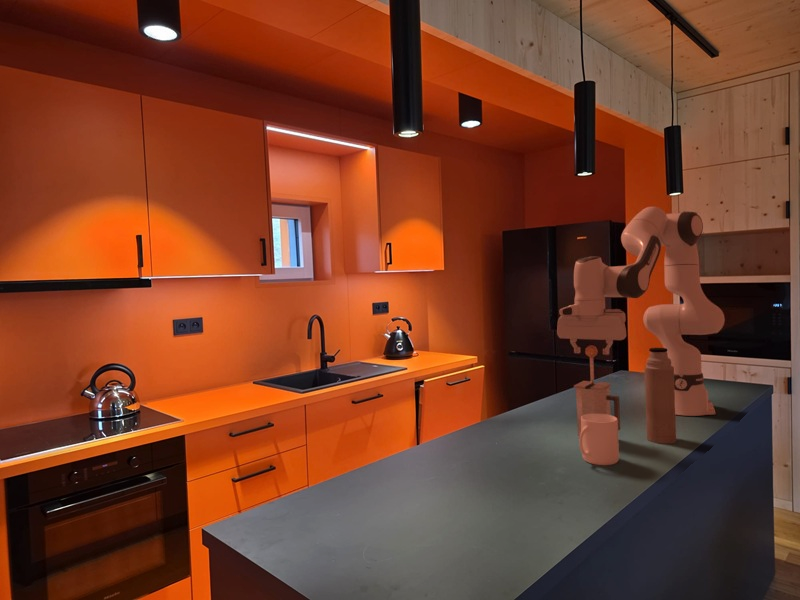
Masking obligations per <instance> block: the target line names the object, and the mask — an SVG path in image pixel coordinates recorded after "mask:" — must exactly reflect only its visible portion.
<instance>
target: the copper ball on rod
mask: <svg viewBox="0 0 800 600" xmlns="http://www.w3.org/2000/svg"><path fill="white" fill-rule="evenodd" d="M584 353H585V355H586V356H587V357H589V369H590V371H589V373H590V375H589V376H590V381H591V387H592V386H594V383H595V373H594V372H595V369H594V364H595V363H594V357H596V356H597V355H598V349H597V347H596V346H595V345H588V346H587V347H586V348H585V351H584Z"/></svg>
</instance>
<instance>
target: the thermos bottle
mask: <svg viewBox="0 0 800 600" xmlns="http://www.w3.org/2000/svg"><path fill="white" fill-rule="evenodd" d="M645 363H646V365H644V388H645V390H644V391H645V392H644V393H645V412H646V413H645V415H646V416H645V418H646V421H645V422H646V439H647V440H648V441H649V442H653V443H657V444H664V445H666V444H673V443H675V442H677V428H676V427H677V426H676V424H677V423H676V421H677V420H676V414H675V388H674V367H673V366H671V363H672V362H671V359H669V358H668V354H667V349H666V348H664V347H650V348H649V357H648V358H647V359H646V362H645Z"/></svg>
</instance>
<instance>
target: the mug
mask: <svg viewBox="0 0 800 600" xmlns="http://www.w3.org/2000/svg"><path fill="white" fill-rule="evenodd" d="M619 448H620V446H619V431H618V419H617V417H615V416H614V415H611V414H610V415H607V414H586V415H583V416H581V434H580V439H579V449H580V452H581V455H582V458H583V460H584V461H586V462H587V463H589V464H592V465H595V466H611V465H616V464H617V463H618V462H619V461H620V460H619V458H620V451H619V450H620V449H619Z"/></svg>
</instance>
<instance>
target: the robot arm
mask: <svg viewBox="0 0 800 600" xmlns="http://www.w3.org/2000/svg"><path fill="white" fill-rule="evenodd" d="M703 229H704V224H703V220H702V218H701V216H700V215H699V214H698V213H697V212H696V211H682V212H674V213H666V212H665V211H664V210H663V208H660V207H657V206H648V207H645V208H643V209H642V210H641V211H639V212H638V213H637V214H636V215H634V216H633V218H632V219H631V220H630V221H629V222H628V223H627V225H626V226H625V228H624V229H623V231H622V233H621V236H620V241H621V244H622V247H623V248H624V250H625V251H626V252H628V253H629V254H631V255H633V256H635V257H637V258H636V260H635V262H634V263H631V264H627V265H617V266H609V265H607V264H605V263H604V262H603V261H602V257H600V256H598V255H595V256H594V255H593V256H592V255H590V256H585V257H581V258H579V259H577V260H576V261H575V264H574V269H573V287H574V291H575V295H574V298H573V299H574V304H570V305H568V306H565V307H562V308H560V309H559V315H560V317H558V319H557V325H556V327H557V329H556V330H557V331H556V334H557V337H558V338H559V339H569V342H570V345H571V346H572V348H573V353H574V354H581V347H580V346H578V345H577V343H576V342H577V341H578V340H598V341H599V340H600V341H601V340H603V341H604V340H605V343H606V347H605V348H602V355H605V356H608V355H610V348H611V346H612V345H613V344H614V341H622V340H625V339H626V338H627V328H626V324H625V323H626V321H627V319H626V313H625V311H623V310H621V309H620V308H615V309H614V308H613V309H612V308H606V298H627V299H639V298H640V297H642V296H643V295H644V294H645V293H646V292H647V290H648V288H649V287H650V286H649V285H650V280H651V276H652V274H653V272H654V269H655V266H656V264H657V261H658V260H659V257H660V254H661V250H662V249H661V248H662V247H665V251H664V262H663V264H664V267H663V269H664V286H665V289H666V290H667V291H669V292H670V293H672V294H675V295H677V296H679V297H681V298H682V300H683V303H676V304H675V303H674V304H673V303H668V304H667V303H666V304H656V305H652V306H649V307H648V308H647V309H646V310H645V311H644V314H643V317H642V318H643V319H642V320H643V325H644V327H645V328H646V329H647V331H649V332H650V333H652V334H653V335H654V336H655V337H656V338H657V339H658V340H659V342H660V343H661V345H662V348H666V349H667V354H668V358H669V359H671V362H672V363H671V366H673V367H674V388H675V416H676V415H677V416H685V417H686V416H689V417H696V416H697V417H698V416H700V417H701V416H708V415H709V416H710V415H711V416H712V415H716V410H715V406H714V405H713V402H711V400H710V399H709V395H708V390H707V387H705V385H704V374H703V372H702V353H701V352H700V350H699V349H698V347H695V346H694V345H692V344H690V343H688V342H686V341H684V339H683V337H682V335H687V336H688V335H698V336H703V335H713V334H718V333H719V332H720V331H721V330H722V329H723V327H724V326H725V321H726V319H725V314H724V312H723V310H722V309H721V308H720V307H719V306H717V305H716V304H715V303H714V302H712V301H711V300H710V299H708V297H707V296H706V295H705V293H704V290H703V289H702V286H701V279H700V259H699V258H700V257H699V251H698V247H697V246H698V245H697V241H698V240H699V239H700V238H701V236H702V233H703Z"/></svg>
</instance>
